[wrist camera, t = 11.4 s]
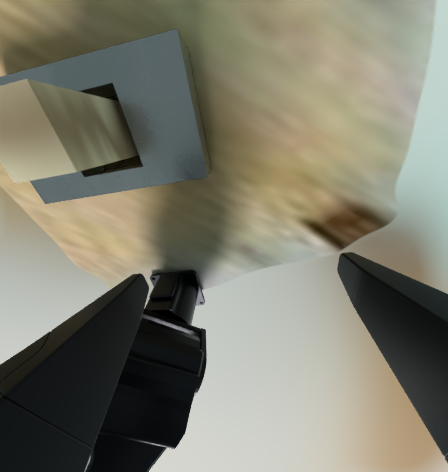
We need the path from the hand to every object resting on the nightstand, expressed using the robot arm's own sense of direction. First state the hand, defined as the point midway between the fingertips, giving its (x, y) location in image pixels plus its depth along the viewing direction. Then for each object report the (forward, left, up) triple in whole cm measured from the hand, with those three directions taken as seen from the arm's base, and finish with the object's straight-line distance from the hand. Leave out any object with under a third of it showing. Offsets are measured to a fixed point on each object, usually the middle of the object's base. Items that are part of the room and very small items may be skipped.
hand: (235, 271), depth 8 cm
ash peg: (+7, +10, -12) cm, 17 cm away
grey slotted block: (+7, +10, -12) cm, 17 cm away
